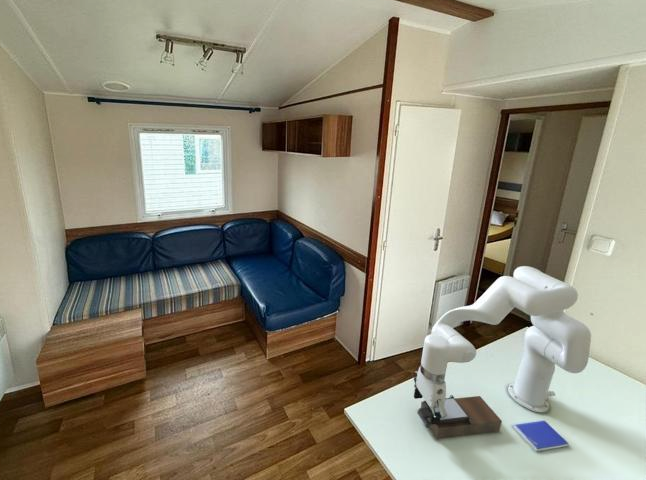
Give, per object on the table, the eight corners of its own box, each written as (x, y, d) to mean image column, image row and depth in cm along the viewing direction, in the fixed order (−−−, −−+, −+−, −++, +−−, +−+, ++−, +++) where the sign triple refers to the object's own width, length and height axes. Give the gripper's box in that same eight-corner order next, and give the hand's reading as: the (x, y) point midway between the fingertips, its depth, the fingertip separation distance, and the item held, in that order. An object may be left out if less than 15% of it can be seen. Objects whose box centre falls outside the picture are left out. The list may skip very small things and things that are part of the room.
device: (414, 401, 105) (413, 410, 106) (428, 422, 98) (426, 432, 99) (453, 397, 107) (451, 406, 108) (469, 417, 99) (467, 427, 101)
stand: (477, 405, 111) (480, 392, 110) (499, 432, 101) (503, 418, 100) (419, 411, 109) (421, 397, 107) (436, 440, 99) (439, 425, 97)
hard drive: (537, 448, 95) (568, 443, 97) (514, 424, 103) (544, 419, 105) (536, 451, 95) (567, 446, 97) (513, 427, 103) (543, 423, 105)
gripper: (461, 391, 89) (452, 433, 94) (427, 350, 106) (421, 387, 110) (438, 394, 88) (431, 436, 93) (408, 352, 105) (403, 389, 109)
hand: (425, 409), depth 102 cm, fingers open, 9 cm apart
